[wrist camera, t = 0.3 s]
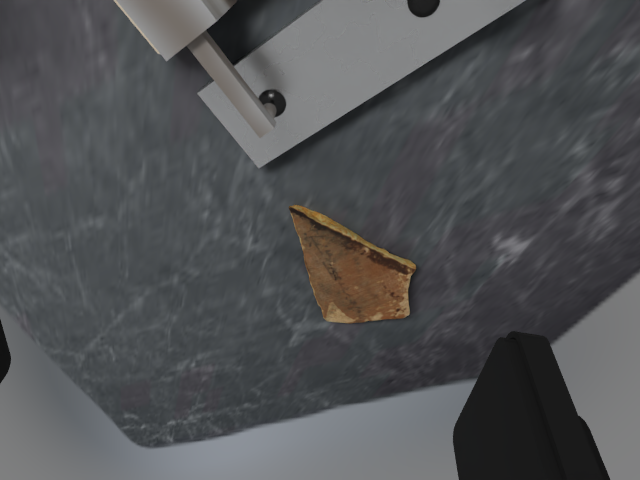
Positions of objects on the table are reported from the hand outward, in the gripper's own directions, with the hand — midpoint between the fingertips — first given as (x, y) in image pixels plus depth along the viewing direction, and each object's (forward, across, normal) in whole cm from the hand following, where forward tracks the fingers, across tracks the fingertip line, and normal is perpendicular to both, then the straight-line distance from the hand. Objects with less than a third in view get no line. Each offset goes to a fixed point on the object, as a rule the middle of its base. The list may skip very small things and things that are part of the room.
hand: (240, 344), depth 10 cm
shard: (+31, -4, +22) cm, 38 cm away
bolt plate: (+30, -3, +1) cm, 30 cm away
